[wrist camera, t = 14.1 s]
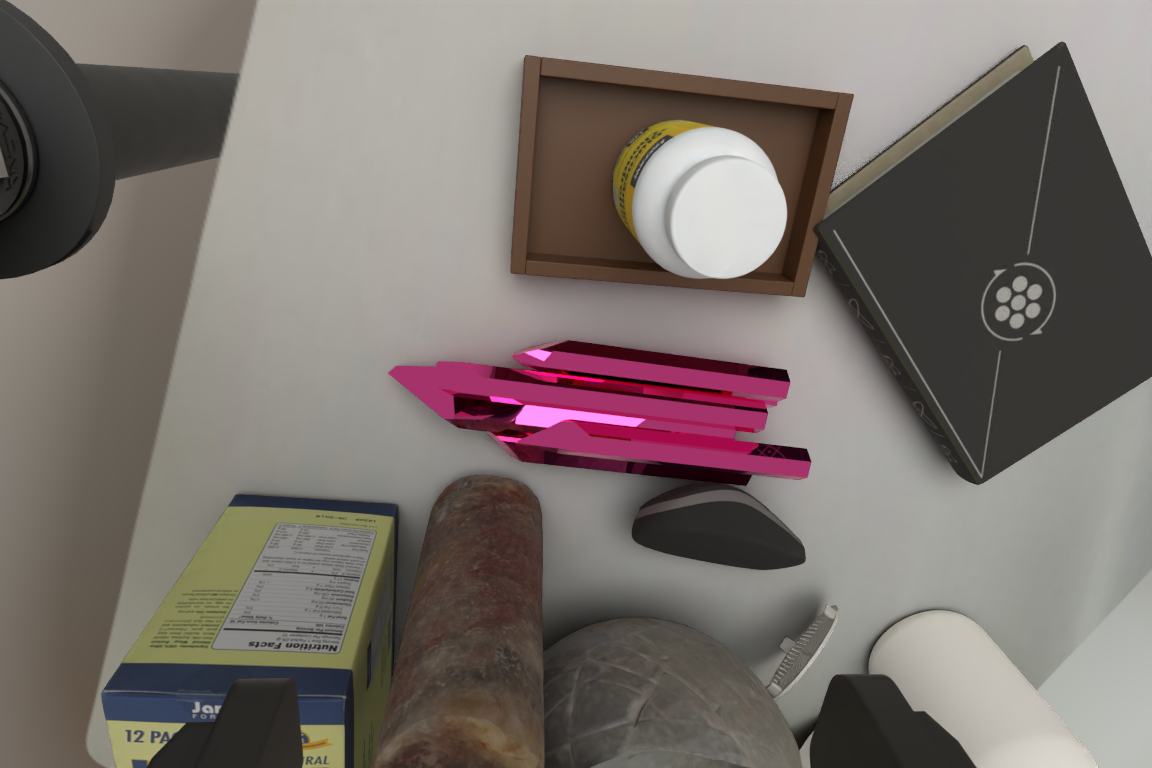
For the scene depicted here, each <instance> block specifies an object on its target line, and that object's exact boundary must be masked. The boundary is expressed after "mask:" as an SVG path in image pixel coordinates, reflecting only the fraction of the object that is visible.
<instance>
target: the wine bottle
mask: <svg viewBox="0 0 1152 768" xmlns="http://www.w3.org/2000/svg"><path fill="white" fill-rule="evenodd" d="M869 674H884V675H886V676H888V677H890V678H891V679H892V680H893V681H894V682H895V684H896V685H897V687H898V688H899V690H900V691H901V693H902V694H903V696H904V697H905V699H906V700H907V702H908V703H909V705H910V706H911V708H912V709H913V711H925V712H926V713H927V714H928V715H930V716H931V717H932V718H933V719H934V720H935V721H936V722H937V723H939V724H940V725H941V726H942V727H943V728H944V729H945V730H946V731H947V732H949V733H950V734H951V735H952V736H953V737H954V738H955V739H956V740H958V741H959V743H960V744H961V746H962V747H963V749H964V750H965V752H966V753H967V754H968V756H969V757H970V759H971V760H972V762H973V763H974V765H975V766H976V767H977V768H1099V767H1098V765H1097V763H1096V762H1095V760H1094V758H1093V757H1092V755H1091V754H1090V752H1089V751H1088V749H1087V748H1086V747H1085V746H1084V745H1083V744H1082V743H1081V741H1080V740H1079V739H1078V738H1077V737H1076V736H1075V734H1074V733H1073V732H1072V731H1071V730H1070V729H1069V728H1068V726H1067V725H1066V724H1065V723H1064V722H1063V721H1062V719H1061V718H1060V717H1059V716H1058V715H1057V714H1056V713H1055V711H1054V710H1053V709H1052V708H1051V707H1050V706H1049V704H1048V703H1047V702H1046V701H1045V700H1044V699H1043V698H1042V696H1041V695H1040V694H1039V693H1038V692H1037V691H1036V690H1035V688H1034V687H1033V686H1032V685H1031V684H1030V683H1029V682H1028V680H1027V679H1026V678H1025V677H1024V676H1023V675H1022V673H1021V672H1020V671H1019V670H1018V669H1017V668H1016V667H1015V665H1014V664H1013V663H1012V662H1011V661H1010V660H1009V659H1008V657H1007V656H1006V655H1005V654H1004V653H1003V652H1002V650H1001V649H1000V648H999V647H998V646H997V645H996V644H995V642H994V641H993V640H992V639H991V638H990V637H989V636H988V634H987V633H986V632H985V631H984V630H983V629H982V628H981V627H980V626H979V625H978V624H977V623H975V622H974V621H973V620H971V619H969V618H968V617H966V616H964V615H962V614H959V613H955V612H952V611H944V610H932V611H926V612H921V613H918V614H914V615H912V616H909V617H907V618H905V619H903V620H901V621H899V622H898V623H896V624H894V625H893V626H892V627H891V628H889V629H888V630H887V631H886V632H885V633H884V634H883V635H882V636H881V637H880V638H879V640H878V641H877V642H876V644H875V646H874V648H873V650H872V652H871V655H870V659H869Z"/></svg>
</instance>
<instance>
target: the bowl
mask: <svg viewBox="0 0 1152 768" xmlns="http://www.w3.org/2000/svg"><path fill="white" fill-rule="evenodd" d="M543 696H544V737H545V742H544V755H545V764H544V768H802V763H801V757H800V752H799V749H798V745H797V743H796V741H795V739H794V736H793V734H792V732H791V730H790V728H789V725H788V723H787V722H786V720H785V718H784V716H783V714H782V713H781V711H780V710H779V708H778V706H777V704H776V703H775V701H774V699H773V698H772V696H771V695H770V693H769V692H768V690H767V689H766V688H765V686H764V685H763V683H762V682H761V681H760V680H759V679H758V678H757V676H756V675H755V674H754V673H753V672H752V671H751V669H750V668H749V667H748V666H747V665H746V664H745V663H743V662H742V661H741V660H740V659H739V658H738V657H737V656H736V655H735V654H734V653H733V652H731V651H730V650H729V649H728V648H726V647H725V646H723V645H722V644H721V643H719V642H717V641H716V640H714V639H713V638H711V637H709V636H707V635H705V634H702V633H700V632H698V631H696V630H694V629H692V628H690V627H688V626H686V625H683V624H680V623H676V622H673V621H667V620H661V619H656V618H644V617H637V618H618V619H612V620H608V621H604V622H599V623H596V624H593V625H589V626H587V627H585V628H582V629H580V630H577V631H575V632H573V633H572V634H570V635H568V636H566V637H564V638H563V639H561V640H560V641H558V642H557V643H555V644H554V645H553V646H551V647H550V648H548V649H547V650H545V651H544V652H543Z"/></svg>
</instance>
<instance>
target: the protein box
mask: <svg viewBox="0 0 1152 768" xmlns="http://www.w3.org/2000/svg"><path fill="white" fill-rule="evenodd" d="M397 542H398V506H397V505H395V504H384V503H367V502H350V501H338V500H320V499H307V498H289V497H271V496H256V495H241V494H237V495H235V496H234V498H233V499H232V501H231V503H230V504H229V506H228V507H227V509H226V510H225V512H224V513H223V515H222V516H221V518H220V519H219V521H218V522H217V524H216V525H215V526H214V528H213V529H212V531H211V532H210V534H209V535H208V537H207V538H206V540H205V541H204V542H203V544H202V545H201V547H200V548H199V550H198V551H197V553H196V554H195V556H194V557H193V559H192V560H191V561H190V563H189V564H188V566H187V567H186V569H185V570H184V572H183V573H182V575H181V576H180V578H179V579H178V581H177V582H176V584H175V585H174V586H173V588H172V589H171V591H170V592H169V594H168V595H167V597H166V598H165V600H164V601H163V603H162V604H161V605H160V607H159V608H158V610H157V611H156V613H155V614H154V616H153V617H152V619H151V620H150V622H149V623H148V625H147V626H146V627H145V629H144V630H143V632H142V633H141V635H140V636H139V638H138V639H137V641H136V642H135V644H134V645H133V646H132V648H131V649H130V651H129V652H128V654H127V655H126V657H125V658H124V660H123V661H122V663H121V664H120V666H119V668H118V669H117V670H116V672H115V673H114V675H113V676H112V678H111V679H110V680H109V682H108V683H107V685H106V686H105V688H104V689H103V691H102V692H101V697H102V704H103V709H104V714H105V718H106V723H107V727H108V732H109V736H110V741H111V745H112V750H113V755H114V760H115V764H116V768H147V766H148V764H149V762H150V760H151V758H152V757H153V756H154V755H155V754H156V753H157V752H158V751H159V750H160V749H161V748H162V747H163V746H164V745H165V744H166V743H167V742H168V741H169V740H170V739H171V738H172V737H173V736H174V735H175V734H176V733H177V732H178V731H179V730H180V729H181V728H182V727H183V726H184V725H185V724H186V723H187V722H214V721H215V719H216V717H217V715H218V712H219V710H220V708H221V706H222V704H223V701H224V699H225V697H226V695H227V693H228V691H229V689H230V687H231V685H232V684H233V683H234V681H235V680H237V679H264V678H293V679H294V680H295V682H296V687H297V696H298V706H299V716H300V726H301V736H302V746H303V766H302V768H372V764H373V759H374V755H375V751H376V747H377V744H378V740H379V735H380V730H381V726H382V721H383V717H384V713H385V709H386V705H387V701H388V697H389V692H390V686H391V681H392V676H393V670H394V634H395V603H396V573H397Z"/></svg>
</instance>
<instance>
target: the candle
mask: <svg viewBox="0 0 1152 768" xmlns="http://www.w3.org/2000/svg"><path fill="white" fill-rule="evenodd" d="M542 572H543V531H542V513H541V508H540V504H539V501H538V499H537V497H536V496H535V495H534V494H533V493H532V491H531V490H530V489H529V488H528V487H527V486H525V485H523V484H520V483H519V482H517V481H515V480H512V479H507V478H498V477H494V476H477V475H475V476H468V477H464V478H461V479H459V480H458V481H456V482H454V483H452V484H451V485H450V486H448V487H447V488H446V489H445V490H444V491H443V493H442V494H441V495H440V496H439V498H438V499H437V501H436V502H435V504H434V506H433V508H432V511H431V515H430V518H429V522H428V526H427V531H426V535H425V539H424V543H423V547H422V551H421V556H420V561H419V565H418V570H417V574H416V579H415V583H414V588H413V592H412V597H411V601H410V606H409V611H408V615H407V619H406V624H405V628H404V632H403V636H402V641H401V646H400V650H399V654H398V658H397V662H396V666H395V670H394V674H393V679H392V683H391V688H390V692H389V697H388V701H387V705H386V709H385V713H384V717H383V721H382V726H381V730H380V735H379V740H378V744H377V747H376V751H375V755H374V759H373V764H372V768H544V764H545V755H544V742H545V737H544V696H543V614H542Z"/></svg>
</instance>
